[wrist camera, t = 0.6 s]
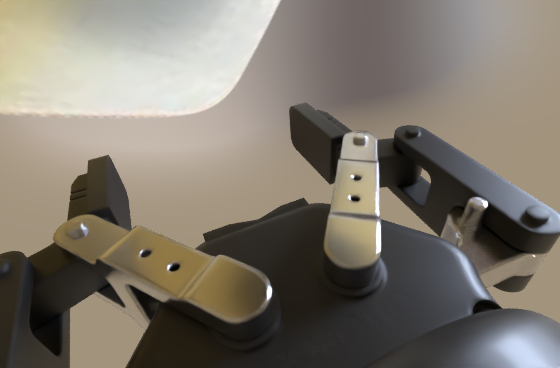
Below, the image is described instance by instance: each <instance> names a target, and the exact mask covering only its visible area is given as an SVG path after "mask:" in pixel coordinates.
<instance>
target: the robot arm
mask: <svg viewBox="0 0 560 368" xmlns="http://www.w3.org/2000/svg"><path fill="white" fill-rule="evenodd" d="M289 112H290V113H289V114H290V129H291V140H292V143H293V145H294V147H295V148H296V150H297V151H299V153H300V154H301V155H302V156H303V157H304V158H305V159H306V160H307V161H308V162H309V163H310V164H311V165H312V166H313V167H314V168H315V169H316V170H317V171H318V173H320V175H321V176H322V177H323V178H324V179H325V180H326V181H327V182H328V183H329V184H333V183H335V184H334V190H333V196H332V202H331V204H324V203H314V204H308V203H307V201H306V200H305V199H304V198H302V199H299V200H296V201H293V202H290V203H288V204H285V205H282V206H280V207H278V208H277V209H275V210H273V211H272V212H270V213H268V214H267V215H265V216H264V217H262V218H260V219H258V220H253V221H247V222H241V223H235V224H229V225H226V226H224V227H221V228H218V229H215V230H212V231H210V232H207V233H204V234H203V236H204V239H205V242H204V243H202V244H201V245H200V246H198V247H197V248H196V249H194V248H191V247H189V246H187V245H184V244H182V243H180V242H177V241H175V240H173V239H170V238H168V237H166V236H163V235H161V234H159V233H156V232H154V231H152V230H149V229H147V228H145V227H142V226H139V225H137V226H135V227H134V228H133V229H132V228H131V219H130V210H129V200H128V196H127V192H126V190H125V187H124V185H123V183H122V181H121V178H120V176H119V174H118V172H117V170H116V168H115V166H114V164H113V162H112V160H111V158H110V157H109V155H106V156H103V157H99V158H95V159H91V160H89V161H88V171H87V174H84V175H80V176H78V177H77V178H76V180H75V181H74V183H73V184H72V186H71V195H70V203H69V211H68V219H67V221H66V222H65V223H63V224H62V225H61V226H60V227H59V228H58V229H57V230H56V232H55V233H54V236H53V240H54V243H53V244H51V245H50V246H48V247H46V248H45V249H43V250H41V251H39V252H37V253H35V254H33V255H31V256H30V257H28V258H27V257H26V256H25V255H24V254H23V253H22V252H19V251H10V252H6V253H2V254H0V368H70V308H71V307H73V306H74V305H76V304H77V303H79V302H81V301H82V300H84V299H85V298H87V297H88V296H90V295H92V294H94V295H96V296H97V297H99V298H101V299H102V300H104V301H106V302H107V303H109V304H111V305H112V306H114V307H116V308H117V309H119V310H121V311H122V312H124V313H125V314H127V315H129V316H130V317H131V318H132V319H134V320H135V321H136V322H137V323H138V324H139V325H140V326H141V327H142V328H143V329H144V330H145V333H144V334H143V336H142V338H141V340H140V342H139V344H138V346H137V347H136V349H135V351H134V353H133V355H132V357H131V359H130V361H129V362H128V364H127V366H126V368H560V324H559V323H557V322H556V321H554V320H552V319H551V318H548V317H546V316H544V315H542V314H539V313H536V312H533V311H528V310H522V309H502V308H501V307H500V306H499V305H498V304H497V302H496V301H495V300H494V299H493V298H492V296H491V295H490V293H489V292H488V290H487V289H486V288H488V287H490V286H494V287H496V288H498V289H500V290H503V291H507V292H519V291H521V290H523V289H524V288H525V287H526V285H527V284H528V282H529V281H530V279H531V278H532V276H533V275H534V273H535V272H536V270H537V269H538V267H539V266H540V264H541V263H542V261H543V260H544V258H545V257H546V256H547V254H548V253H549V251H550V249H551V248H552V247H553V245H554V244H555V242H556V240H557V239H558V237H559V236H560V214H559V213H557V212H556V211H555V210H553V209H552V208H550V207H548V206H547V205H545V204H543V203H542V202H540V201H539V200H537V199H536V198H534V197H532V196H531V195H529V194H528V193H526V192H524V191H523V190H521V189H520V188H518V187H516V186H515V185H513V184H512V183H510V182H509V181H507V180H505V179H504V178H502V177H501V176H499V175H497V174H496V173H494V172H493V171H491V170H489V169H488V168H486V167H485V166H483V165H482V164H480V163H478V162H477V161H475V160H474V159H472V158H470V157H469V156H467V155H466V154H464V153H462V152H461V151H459V150H458V149H456V148H454V147H453V146H451V145H450V144H448V143H447V142H445V141H443V140H442V139H440V138H439V137H437V136H435V135H434V134H432V133H431V132H429V131H427V130H426V129H424V128H422V127H418V126H410V125H407V126H401V127H399V128H397V129H396V130H395V134H394V138H391V139H381V140H377V137H376V136H375V135H374V134H372V133H370V132H367V131H351V130H350V129H348V128H347V127H346V126H345V125H343V124H342V123H341V122H339V121H338V120H336V119H335V118H333V117H332V116H331V115H329V114H328V113H326V112H323V111H320V110H315V109H314V108H312V107H311V106H310V105H308V104H307V103H303V104H298V105H295V106H291V107H290V110H289ZM422 168H423V169H424V170H426V171H427V172H428V174H429V175H430V178H431V184H430V183H429V182H428V181H426V180H425V179H424V178H423V177H421V176H420V175H421V171H422ZM381 187H388V188H389V189H390V190H391V191H392V192H393V193H394V194H395V195H396V196H397V197H398V198H399V199H400V200H401V201H402V202H403V203H404V204H405V205H407V206H408V207H409V208H410V209H411V210H412V211H413V212H414V213H415V214H416V215H417V216H418V217H419V218H420V219H421V220H422V221H423V222H425V223H426V224H427V225H428V226H429V227H430V228H431V229H432V230H433V231H434V232H435V233H436V234H437V235H438V236H439V237H437V236H434V235H431V234H427V233H424V232H421V231H418V230H414V229H411V228H408V227H405V226H401V225H398V224H395V223H392V222H388V221H385V220H382V219H380V216H379V188H381Z"/></svg>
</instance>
